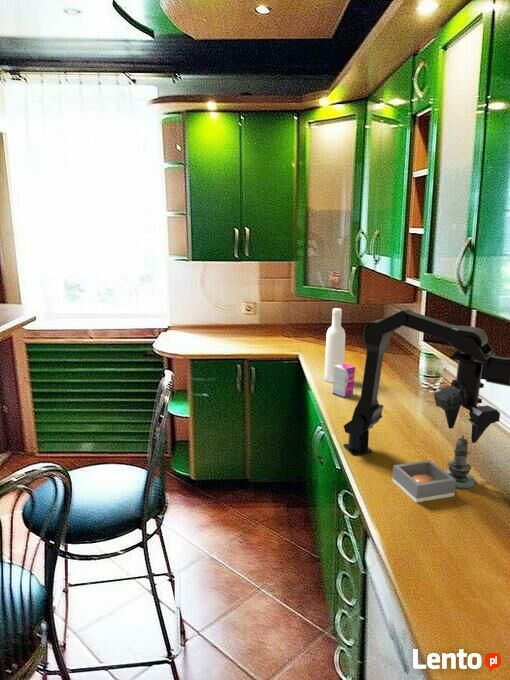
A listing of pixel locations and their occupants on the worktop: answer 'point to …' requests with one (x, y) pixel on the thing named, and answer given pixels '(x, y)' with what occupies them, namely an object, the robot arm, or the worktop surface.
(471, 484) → the slate coaster
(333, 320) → the bottle
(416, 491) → the grey square tray
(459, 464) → the salt shaker
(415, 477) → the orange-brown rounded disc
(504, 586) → the worktop surface
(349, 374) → the supplement box
